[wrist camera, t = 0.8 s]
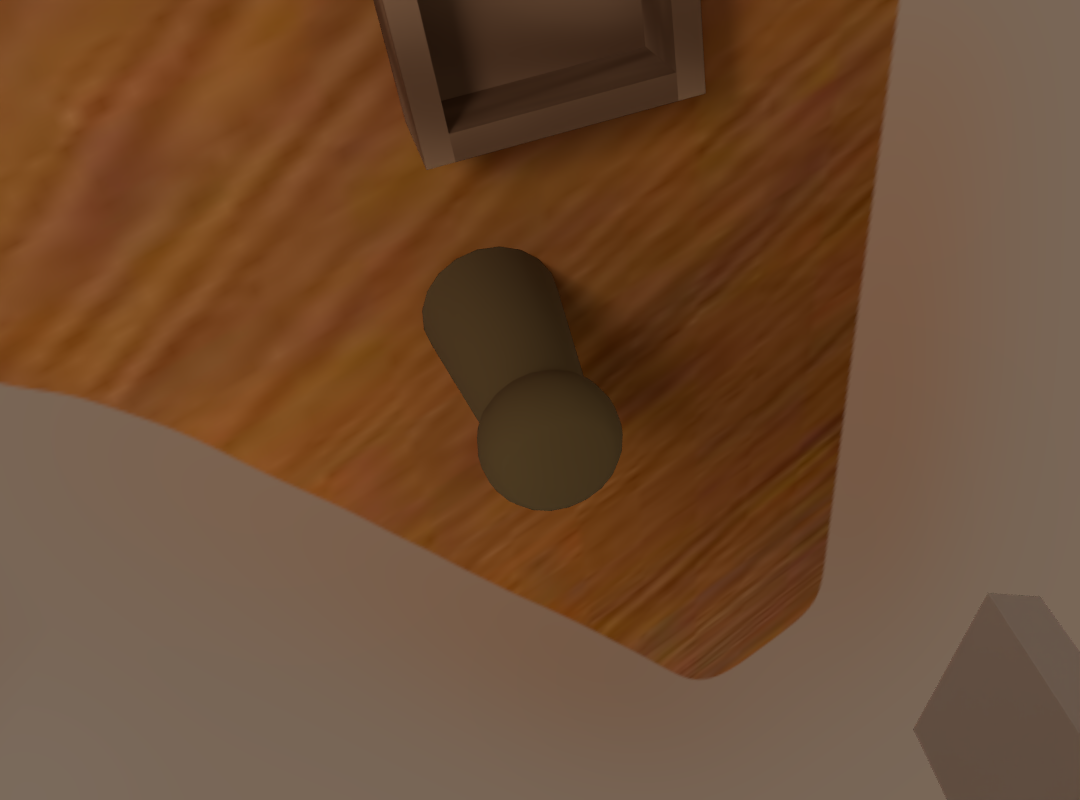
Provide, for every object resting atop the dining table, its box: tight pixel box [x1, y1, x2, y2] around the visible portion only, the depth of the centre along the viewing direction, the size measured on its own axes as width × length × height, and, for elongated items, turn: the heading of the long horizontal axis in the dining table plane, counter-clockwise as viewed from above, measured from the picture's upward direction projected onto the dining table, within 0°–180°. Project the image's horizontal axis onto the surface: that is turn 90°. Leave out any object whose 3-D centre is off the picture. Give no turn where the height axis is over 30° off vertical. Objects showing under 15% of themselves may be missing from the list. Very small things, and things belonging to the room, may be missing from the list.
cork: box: [422, 247, 623, 511], centre depth 37 cm, size 6×6×11 cm
